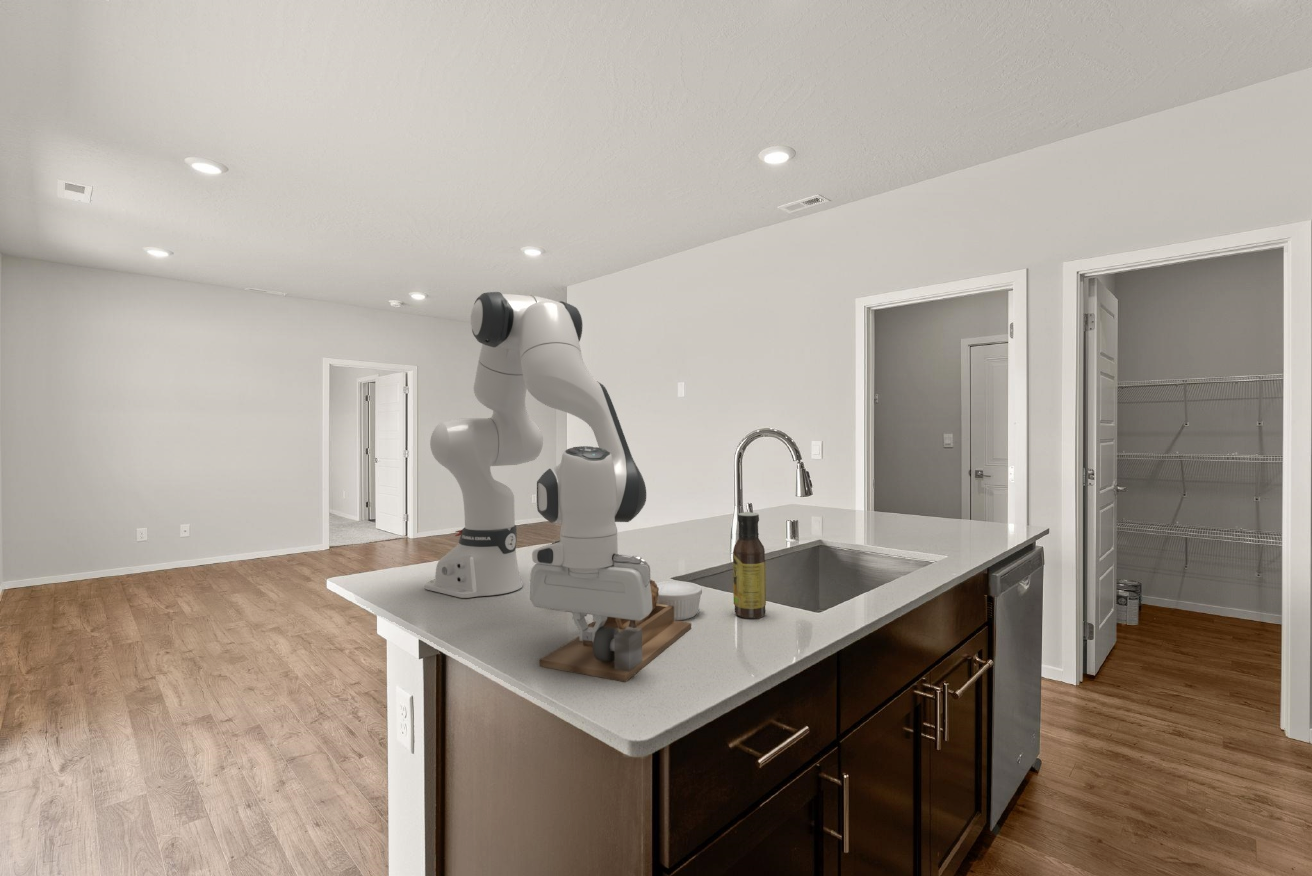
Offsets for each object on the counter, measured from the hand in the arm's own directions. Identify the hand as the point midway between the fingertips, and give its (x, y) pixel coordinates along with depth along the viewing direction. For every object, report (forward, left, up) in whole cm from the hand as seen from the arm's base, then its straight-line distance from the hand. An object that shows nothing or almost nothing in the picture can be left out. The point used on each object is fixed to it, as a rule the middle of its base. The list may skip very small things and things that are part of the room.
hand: (590, 641), depth 96 cm
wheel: (+3, 0, -3) cm, 4 cm away
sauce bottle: (+15, +35, -4) cm, 38 cm away
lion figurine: (0, +12, -2) cm, 12 cm away
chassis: (0, +10, -4) cm, 10 cm away
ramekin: (+1, +30, -4) cm, 30 cm away
